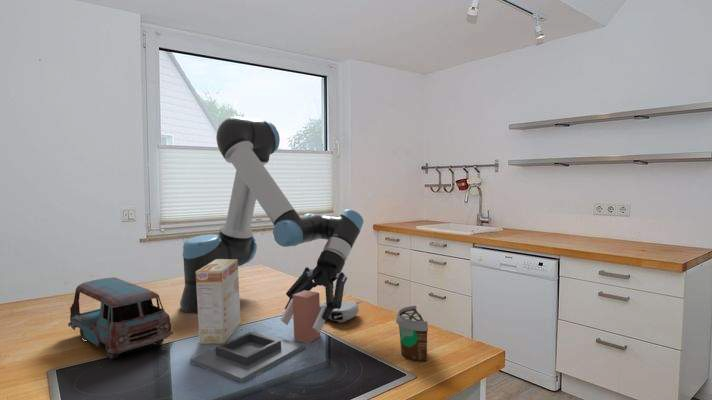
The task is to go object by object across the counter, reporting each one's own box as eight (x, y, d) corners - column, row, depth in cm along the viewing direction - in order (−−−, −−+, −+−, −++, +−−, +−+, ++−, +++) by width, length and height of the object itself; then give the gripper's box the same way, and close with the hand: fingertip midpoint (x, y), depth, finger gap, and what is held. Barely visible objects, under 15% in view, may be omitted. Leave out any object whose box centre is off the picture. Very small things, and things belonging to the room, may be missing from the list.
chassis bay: (190, 362, 100) (189, 350, 100) (254, 334, 117) (253, 324, 117) (242, 382, 90) (241, 369, 90) (304, 348, 107) (303, 337, 107)
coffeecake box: (218, 323, 126) (215, 258, 125) (241, 323, 126) (239, 258, 124) (197, 344, 111) (194, 271, 110) (224, 344, 111) (221, 270, 110)
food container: (392, 344, 108) (391, 306, 108) (416, 343, 109) (415, 304, 108) (401, 366, 96) (401, 323, 95) (428, 365, 97) (427, 322, 96)
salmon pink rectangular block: (294, 338, 113) (292, 294, 112) (306, 332, 117) (305, 290, 117) (308, 342, 110) (307, 297, 110) (320, 336, 115) (319, 292, 114)
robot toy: (303, 325, 126) (349, 327, 120) (301, 310, 126) (348, 311, 120) (321, 312, 137) (364, 313, 132) (319, 298, 137) (363, 299, 131)
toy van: (113, 368, 98) (108, 305, 97) (67, 337, 118) (63, 284, 117) (177, 346, 110) (174, 289, 109) (126, 320, 130) (123, 272, 129)
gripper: (372, 268, 119) (341, 341, 107) (309, 259, 132) (275, 324, 120) (361, 252, 114) (327, 327, 102) (297, 245, 127) (260, 311, 115)
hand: (299, 326), depth 111 cm, fingers open, 10 cm apart
